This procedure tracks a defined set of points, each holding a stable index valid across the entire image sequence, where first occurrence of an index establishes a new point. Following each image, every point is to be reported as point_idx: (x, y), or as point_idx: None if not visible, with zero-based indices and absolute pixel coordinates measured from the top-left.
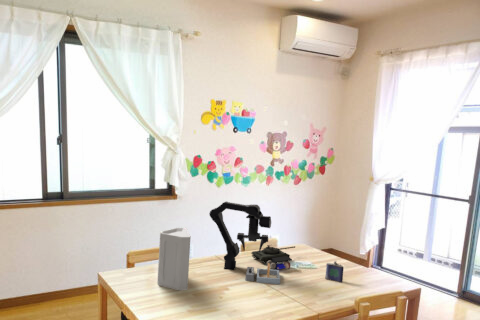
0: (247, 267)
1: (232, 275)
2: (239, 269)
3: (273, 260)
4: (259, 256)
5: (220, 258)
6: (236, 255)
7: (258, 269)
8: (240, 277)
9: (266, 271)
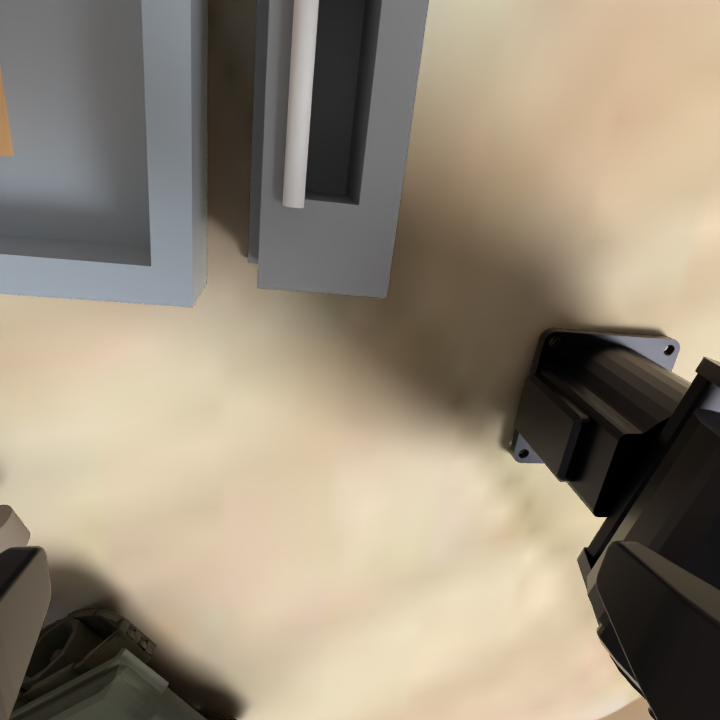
0: (387, 257)
1: (598, 150)
2: (459, 390)
3: None
4: (158, 711)
5: None
6: (709, 434)
7: (165, 247)
8: (489, 74)
9: (6, 246)
